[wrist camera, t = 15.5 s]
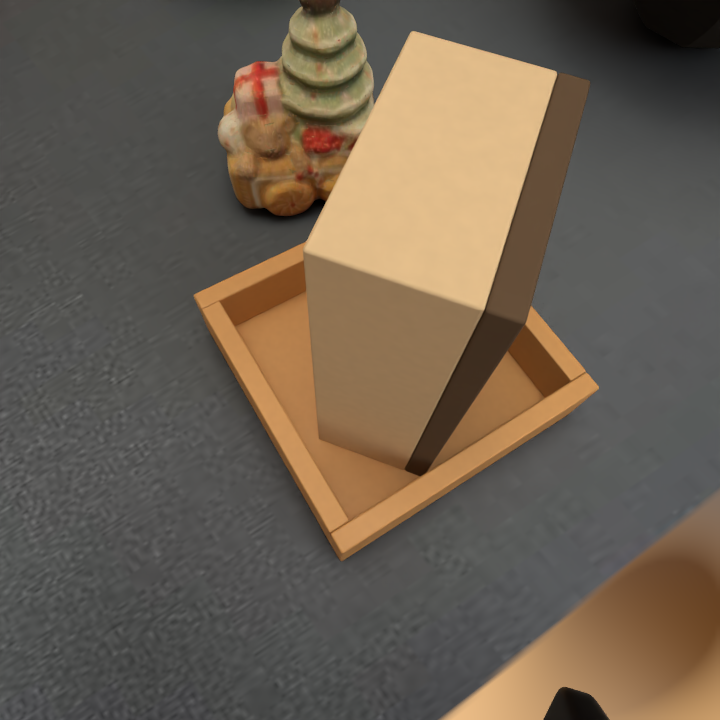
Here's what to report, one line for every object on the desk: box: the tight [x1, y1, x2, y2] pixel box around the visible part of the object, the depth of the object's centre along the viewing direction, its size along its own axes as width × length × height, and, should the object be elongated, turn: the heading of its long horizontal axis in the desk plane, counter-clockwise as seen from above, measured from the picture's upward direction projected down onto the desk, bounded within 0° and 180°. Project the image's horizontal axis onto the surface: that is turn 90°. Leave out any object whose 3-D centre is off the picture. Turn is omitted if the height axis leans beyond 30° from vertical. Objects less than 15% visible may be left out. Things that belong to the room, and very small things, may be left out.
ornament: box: [218, 0, 374, 216], centre depth 24 cm, size 8×6×10 cm
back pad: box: [303, 31, 590, 476], centre depth 18 cm, size 4×7×13 cm, turn 160°
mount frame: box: [194, 242, 599, 561], centre depth 23 cm, size 12×12×3 cm
